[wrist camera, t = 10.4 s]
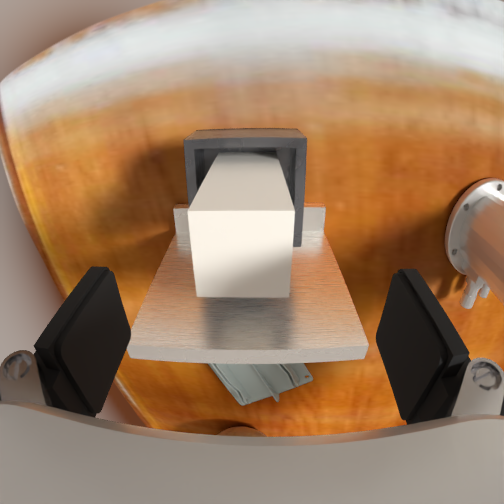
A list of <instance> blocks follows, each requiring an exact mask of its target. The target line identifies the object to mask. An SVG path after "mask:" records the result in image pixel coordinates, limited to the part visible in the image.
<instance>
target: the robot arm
mask: <svg viewBox="0 0 504 504" xmlns="http://www.w3.org/2000/svg"><path fill="white" fill-rule="evenodd" d="M445 249H446V254H447V257H448V259H449V261H450V263H451V264H452V265H453V266H454V268H455V269H456V270H457V271H458V272H460V273H462V274H464V275H467V278H466V282H467V286H466V289H465V290H464V292H463V294H462V297H461V299H460V304H461V306H463V307H464V308H467V309H470V308H472V306H473V304H474V301H475V299H476V296H477V292H478V290H479V289H480V290H479V292H478V294H479V296H480V297H482V298H486V297H487V295H488V293H489V290H490V289H491V291H492V292H493V293H494V294H495V295H496V296H497V298H498V299H499V300H500V301H501V302H502V304H503V305H504V181H503V180H500V179H497V178H487V179H484V180H480V181H479V182H477V183H475V184H473V185H472V186H471V187H470V188H469V189H468V190H466V191H465V193H464V194H463V195H462V196H461V197H460V199H459V200H458V202H457V203H456V205H455V206H454V208H453V211H452V213H451V215H450V217H449V220H448V224H447V227H446V233H445ZM130 339H131V329H130V326H129V323H128V320H127V317H126V314H125V311H124V307H123V304H122V301H121V297H120V294H119V290H118V287H117V283H116V280H115V276H114V273H113V272H112V271H110V270H109V269H108V268H107V267H91V268H90V269H89V270H88V271H87V273H86V274H85V275H84V277H83V278H82V279H81V280H80V282H79V283H78V284H77V286H76V287H75V288H74V290H73V291H72V292H71V293H70V295H69V296H68V298H67V299H66V300H65V302H64V303H63V304H62V306H61V307H60V308H59V310H58V311H57V313H56V314H55V316H54V317H53V318H52V320H51V321H50V323H49V324H48V325H47V327H46V328H45V330H44V331H43V333H42V334H41V336H40V337H39V339H38V340H37V342H36V343H35V345H34V347H35V349H36V352H35V353H34V355H33V354H32V353H31V352H30V351H27V350H19V351H16V352H14V353H12V354H10V355H9V356H7V357H6V358H5V359H4V361H3V362H2V364H1V366H0V504H504V372H503V371H502V369H501V368H500V366H498V365H497V364H496V363H495V362H493V361H492V360H490V359H486V358H476V359H473V360H472V361H471V360H470V358H469V356H468V355H469V351H468V349H467V348H466V346H465V344H464V343H463V341H462V339H461V337H460V336H459V334H458V332H457V331H456V329H455V327H454V326H453V324H452V322H451V321H450V319H449V318H448V316H447V314H446V313H445V311H444V310H443V308H442V307H441V305H440V303H439V302H438V300H437V299H436V297H435V296H434V294H433V293H432V291H431V290H430V288H429V287H428V285H427V284H426V282H425V281H424V280H423V278H422V277H421V275H420V274H419V272H418V271H417V270H416V269H400V270H399V271H398V272H397V273H395V274H394V275H393V277H392V281H391V285H390V288H389V292H388V296H387V299H386V303H385V306H384V310H383V313H382V317H381V320H380V323H379V326H378V330H377V333H376V343H377V346H378V349H379V351H380V354H381V357H382V360H383V363H384V366H385V369H386V372H387V375H388V378H389V381H390V384H391V387H392V390H393V393H394V396H395V400H396V403H397V406H398V409H399V413H400V416H401V418H402V420H406V422H407V425H403V426H397V427H390V428H383V429H377V430H369V431H361V432H353V433H343V434H331V435H317V436H295V437H241V436H220V435H206V434H194V433H185V432H176V431H167V430H160V429H153V428H146V427H140V426H134V425H128V424H123V423H118V422H113V421H108V420H104V419H99V418H95V416H96V414H97V413H100V412H101V410H102V407H103V405H104V402H105V400H106V397H107V395H108V392H109V390H110V387H111V385H112V382H113V380H114V377H115V375H116V372H117V370H118V368H119V365H120V363H121V360H122V358H123V356H124V353H125V351H126V349H127V346H128V344H129V342H130Z"/></svg>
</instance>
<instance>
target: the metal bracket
mask: <svg viewBox="0 0 504 504" xmlns="http://www.w3.org/2000/svg"><path fill="white" fill-rule="evenodd" d="M208 364H209V366H210V367H211V368H212V370H213V371H214V372H215V374H216V375H217V376H218V378H219V379H220V380H221V381H222V383H223V384H224V385H225V386H226V388H227V389H228V390H229V391H230V393H231V394H232V395H233V396H234V398H235V399H236V400H237V401H238V403H239V404H240V405H246V404H249V403H252V402H255V401H258V400H261V399H264V398H267V397H270V396H273V397H274V399H275V400H276V402H279V393H281V392H284V391H287V390H290V389H292V388H295V387H298V386H300V385H303V384H305V383H308V382H310V381H312V380H313V377H312V375H311V374H310V372H309V371H308V369H307V367H306V366H305V364H304V363H286V364H217V363H208ZM306 375H308V376H309V377H308V378H306V377H305V376H306Z"/></svg>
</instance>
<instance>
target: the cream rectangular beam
mask: <svg viewBox="0 0 504 504" xmlns="http://www.w3.org/2000/svg"><path fill="white" fill-rule="evenodd" d="M294 218H295V209H294V206H293V203H292V200H291V197H290V193H289V190H288V187H287V184H286V181H285V178H284V175H283V171H282V168H281V165H280V162H279V159H278V156H277V153H276V152H226V153H218V155H217V157H216V159H215V160H214V162H213V164H212V166H211V168H210V169H209V171H208V173H207V175H206V177H205V179H204V181H203V182H202V184H201V186H200V188H199V190H198V192H197V194H196V196H195V198H194V200H193V202H192V203H191V205H190V207H189V209H188V221H189V232H190V241H191V251H192V260H193V269H194V277H195V285H196V293H197V297H239V298H281V297H289V291H290V278H291V265H292V250H293V235H294Z"/></svg>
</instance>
